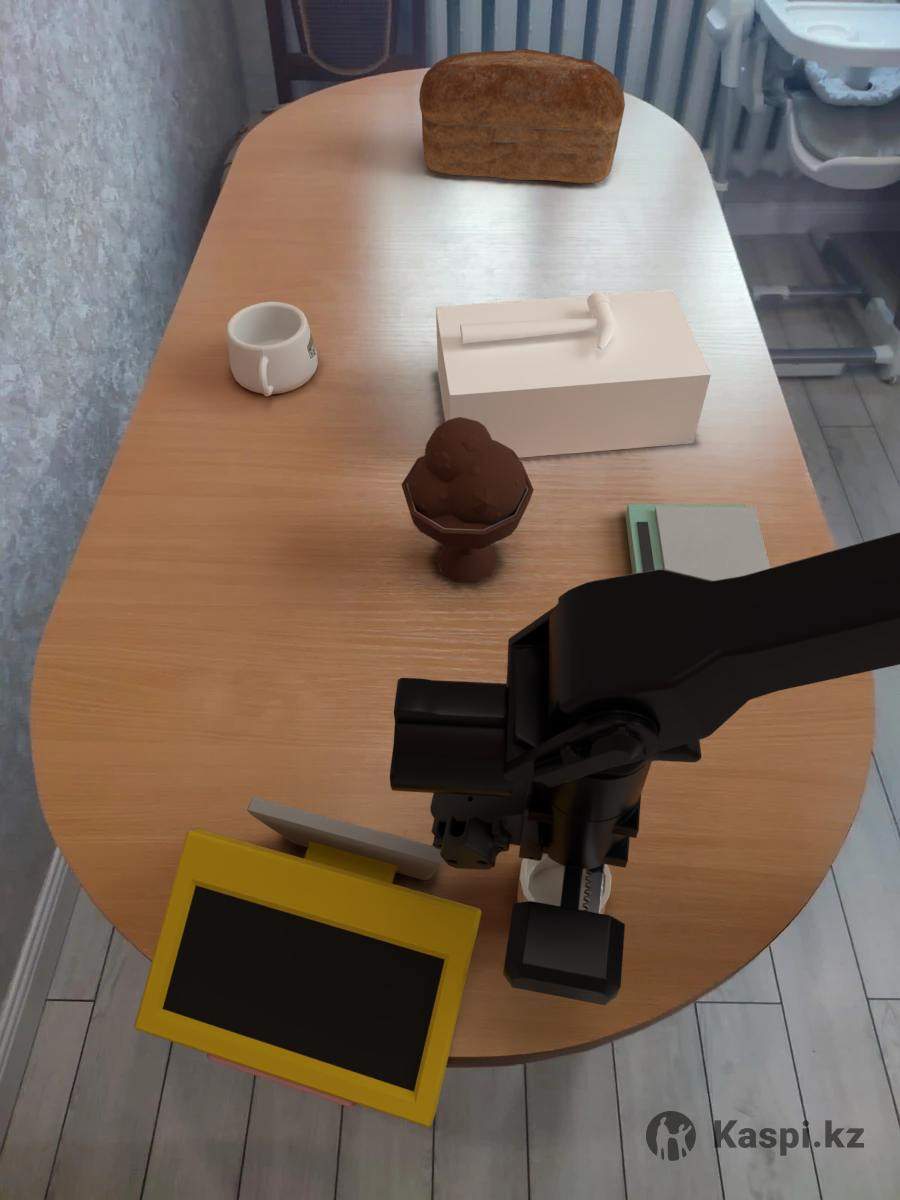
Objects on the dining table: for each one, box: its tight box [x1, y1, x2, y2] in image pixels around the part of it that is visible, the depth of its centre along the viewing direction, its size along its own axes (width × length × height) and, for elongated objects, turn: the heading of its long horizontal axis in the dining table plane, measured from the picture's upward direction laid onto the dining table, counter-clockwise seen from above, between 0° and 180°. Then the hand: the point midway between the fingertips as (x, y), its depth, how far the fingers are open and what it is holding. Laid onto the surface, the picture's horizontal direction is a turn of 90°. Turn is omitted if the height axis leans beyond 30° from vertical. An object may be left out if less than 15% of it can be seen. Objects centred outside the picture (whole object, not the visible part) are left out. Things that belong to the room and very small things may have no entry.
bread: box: [418, 48, 626, 184], centre depth 123 cm, size 12×28×14 cm, turn 80°
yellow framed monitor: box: [134, 796, 482, 1128], centre depth 58 cm, size 20×8×16 cm
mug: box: [226, 301, 319, 397], centre depth 97 cm, size 12×10×6 cm
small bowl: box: [516, 853, 613, 914], centre depth 61 cm, size 6×6×5 cm
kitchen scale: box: [624, 503, 771, 581], centre depth 81 cm, size 12×11×2 cm
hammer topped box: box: [435, 288, 712, 459], centre depth 91 cm, size 14×25×11 cm, turn 96°
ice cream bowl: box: [400, 417, 534, 584], centre depth 77 cm, size 11×11×15 cm
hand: (565, 880), depth 60 cm, fingers open, 9 cm apart
